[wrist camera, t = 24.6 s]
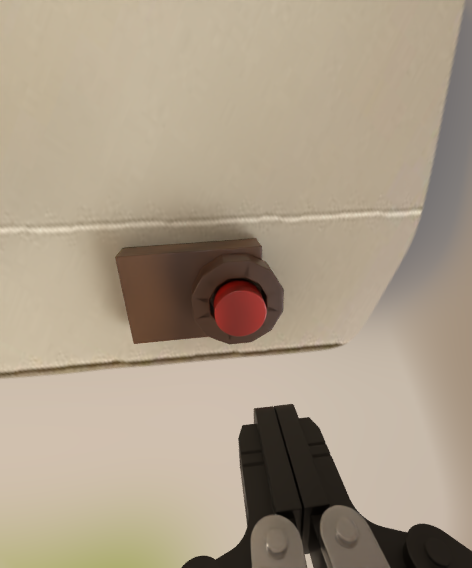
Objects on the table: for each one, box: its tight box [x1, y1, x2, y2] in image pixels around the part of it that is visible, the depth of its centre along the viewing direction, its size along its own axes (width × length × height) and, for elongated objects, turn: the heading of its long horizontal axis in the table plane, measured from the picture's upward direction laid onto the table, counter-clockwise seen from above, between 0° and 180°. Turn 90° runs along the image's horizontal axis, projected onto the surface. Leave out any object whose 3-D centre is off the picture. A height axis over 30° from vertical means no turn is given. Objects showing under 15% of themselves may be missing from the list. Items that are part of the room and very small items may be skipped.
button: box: [214, 280, 267, 336], centre depth 20 cm, size 3×3×2 cm
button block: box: [115, 238, 284, 344], centre depth 22 cm, size 11×7×4 cm, turn 93°
